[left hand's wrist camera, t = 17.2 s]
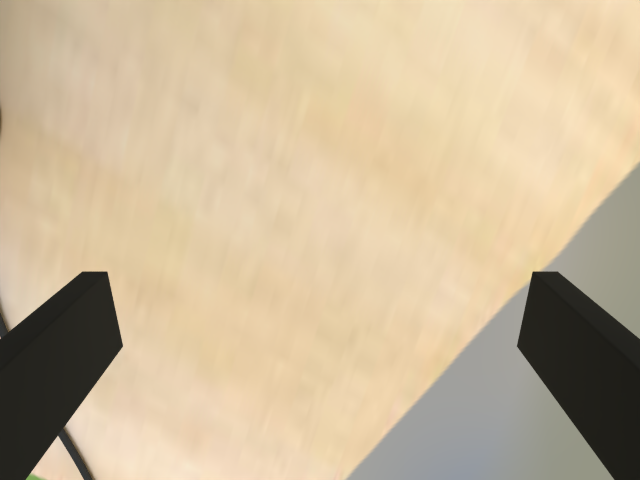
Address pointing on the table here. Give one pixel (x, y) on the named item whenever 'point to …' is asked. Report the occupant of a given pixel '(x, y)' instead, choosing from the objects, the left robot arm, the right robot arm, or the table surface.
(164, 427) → the table surface
